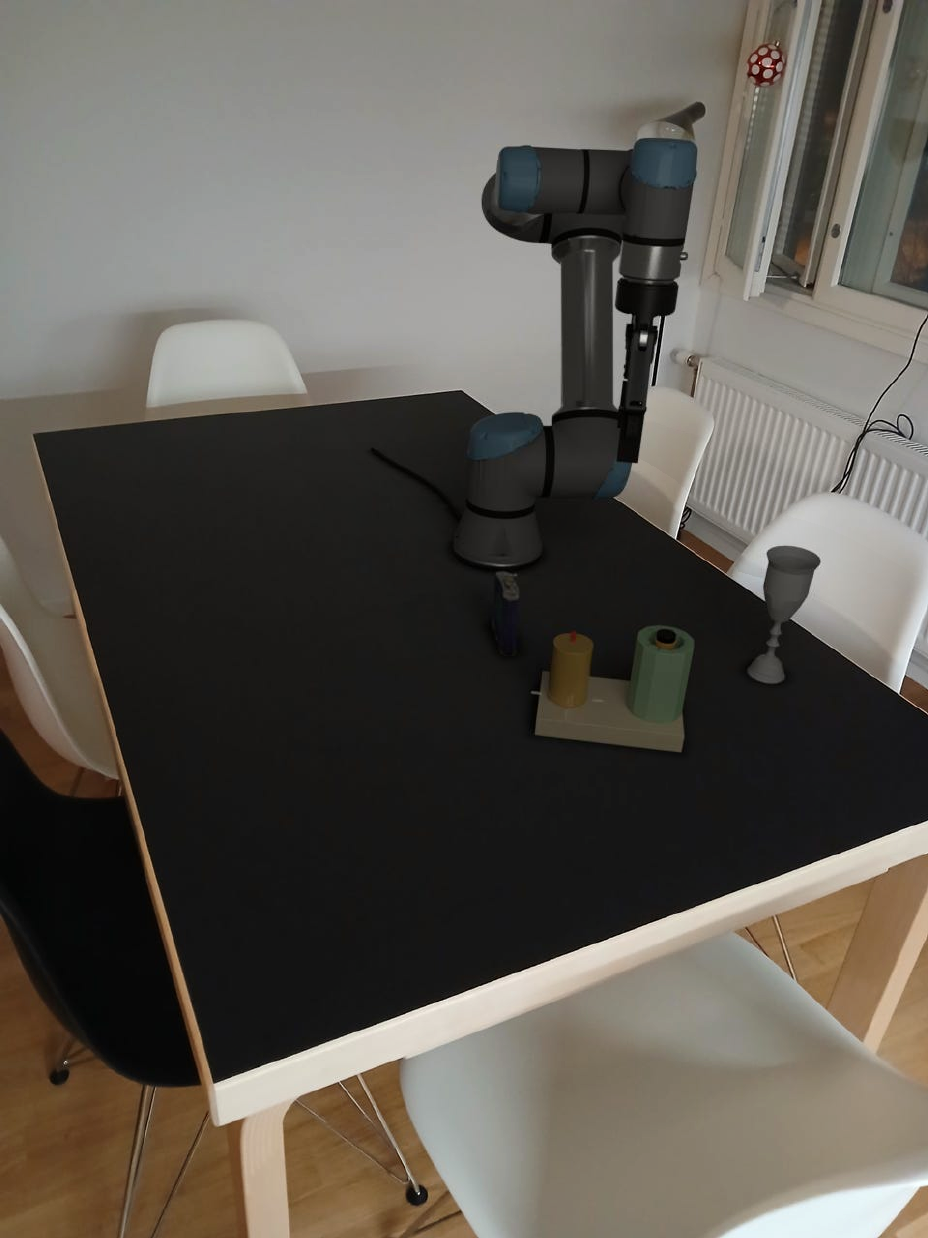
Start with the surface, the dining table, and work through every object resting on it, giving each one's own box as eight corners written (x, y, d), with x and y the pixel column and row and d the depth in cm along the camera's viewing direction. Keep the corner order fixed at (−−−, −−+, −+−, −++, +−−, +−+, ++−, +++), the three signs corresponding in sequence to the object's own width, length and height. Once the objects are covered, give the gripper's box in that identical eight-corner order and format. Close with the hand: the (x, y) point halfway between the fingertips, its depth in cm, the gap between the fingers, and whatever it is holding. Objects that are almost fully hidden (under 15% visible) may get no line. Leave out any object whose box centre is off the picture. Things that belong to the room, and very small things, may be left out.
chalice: (751, 654, 139) (776, 540, 130) (798, 670, 136) (827, 555, 127) (733, 676, 133) (758, 559, 124) (781, 693, 130) (811, 574, 121)
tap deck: (525, 733, 120) (527, 716, 118) (533, 685, 129) (534, 669, 128) (681, 752, 118) (684, 735, 116) (677, 702, 127) (680, 685, 126)
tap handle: (586, 710, 120) (593, 653, 116) (546, 705, 121) (552, 649, 117) (587, 688, 125) (594, 632, 121) (548, 683, 125) (554, 628, 121)
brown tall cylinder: (642, 721, 121) (656, 637, 115) (642, 709, 124) (655, 627, 118) (663, 723, 121) (678, 640, 115) (662, 712, 123) (677, 629, 117)
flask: (489, 623, 143) (494, 558, 138) (509, 623, 144) (514, 558, 138) (500, 656, 135) (505, 589, 130) (521, 656, 136) (527, 588, 130)
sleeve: (616, 706, 121) (626, 638, 116) (646, 686, 126) (657, 619, 121) (662, 730, 117) (674, 660, 112) (691, 707, 122) (704, 640, 117)
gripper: (685, 301, 107) (658, 480, 118) (674, 263, 129) (652, 417, 139) (617, 296, 108) (596, 474, 119) (618, 259, 130) (600, 413, 140)
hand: (626, 444), depth 129 cm, fingers open, 13 cm apart
